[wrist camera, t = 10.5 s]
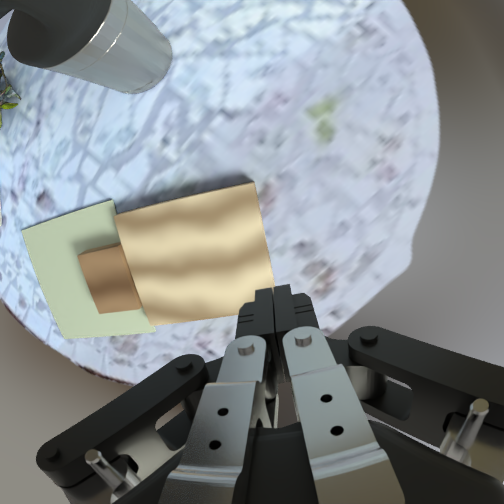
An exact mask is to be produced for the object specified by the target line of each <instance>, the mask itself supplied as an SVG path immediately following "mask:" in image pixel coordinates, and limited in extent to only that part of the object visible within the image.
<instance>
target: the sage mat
mask: <svg viewBox="0 0 504 504" xmlns="http://www.w3.org/2000/svg"><path fill="white" fill-rule="evenodd" d="M115 215H117V212H116V209H115V205H114V201H113V200H110V201H106V202H103V203H100V204H97V205H93V206H90V207H87V208H84V209H81V210H78V211H75V212H72V213H69V214H66V215H63V216H60V217H58V218H55V219H52V220H49V221H46V222H44V223H41V224H38V225H35V226H33V227H30V228H27V229H25V230H22V234H23V237H24V241H25V244H26V247H27V250H28V253H29V256H30V259H31V262H32V265H33V267H34V270H35V273H36V275H37V278H38V281H39V283H40V286H41V288H42V291H43V293H44V296H45V298H46V300H47V303H48V305H49V307H50V310H51V312H52V314H53V316H54V319H55V321H56V323H57V325H58V327H59V329H60V331H61V333H62V335H63V337H64V339H72V338H89V337H104V336H117V335H129V334H140V333H150V332H156V329H155V326H150V323H149V321H148V318H147V316H146V313H145V311H144V308H143V305H142V307H141V308H140V309H138V310H130V311H122V312H113V313H105V314H99V313H98V310H97V308H96V305H95V303H94V301H93V298H92V296H91V293H90V290H89V288H88V285H87V283H86V280H85V277H84V274H83V272H82V269H81V266H80V263H79V260H78V257H77V256H78V255H79V254H81V253H82V252H84V251H85V250H88V249H92V248H97V247H101V246H105V245H109V244H113V243H118V242H121V240H120V237H119V234H118V230H117V227H116V224H115V220H114V216H115Z"/></svg>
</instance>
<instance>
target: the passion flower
mask: <svg viewBox="0 0 504 504" xmlns="http://www.w3.org/2000/svg"><path fill="white" fill-rule="evenodd" d="M4 55H5V52H4V51H2V52H1V53H0V68H1V69H0V79H1V77H2V75H3V77H4V79H5V82H6V88H5V90H3V91H1V90H0V92H1V94H0V97H1V96H2V95H3V94H4V93H5V95H4V98H3V99H2V100H1V101H0V128H1V126H2V116H1V108H3V109H11V108H14V107H15V106H17V105H18V104H17V103H8V102H6V101H5V98H6V97H9V98H10V97H12V96H16V97H18V98H19V99H20V100H21V98H20V97H19V96H18V95H17V94H16V93H15V92H14V91H13V90H12V86H11V85H10V84H9V83H8V82H7V79H6V76H5V74H4V70H3V67H2V64H1V62H2V59H3V57H4Z"/></svg>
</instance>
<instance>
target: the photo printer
mask: <svg viewBox="0 0 504 504" xmlns="http://www.w3.org/2000/svg"><path fill="white" fill-rule="evenodd" d="M1 225H2V215H1V202H0V226H1Z"/></svg>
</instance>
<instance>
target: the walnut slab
mask: <svg viewBox="0 0 504 504" xmlns="http://www.w3.org/2000/svg"><path fill="white" fill-rule="evenodd" d="M77 257H78V260H79V263H80V266H81V269H82V272H83V274H84V277H85V280H86V283H87V285H88V288H89V290H90V293H91V296H92V298H93V301H94V303H95V305H96V308H97V310H98V313H99V314H105V313H113V312H122V311H130V310H138V309H140V308H141V307H142V303H141V300H140V297H139V294H138V292H137V289H136V286H135V283H134V280H133V277H132V275H131V272H130V269H129V266H128V263H127V260H126V256H125V253H124V250H123V247H122V244H121V242H118V243H113V244H109V245H105V246H101V247H97V248H92V249H88V250H85V251H84V252H82V253H81V254H79V255H78V256H77Z"/></svg>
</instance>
